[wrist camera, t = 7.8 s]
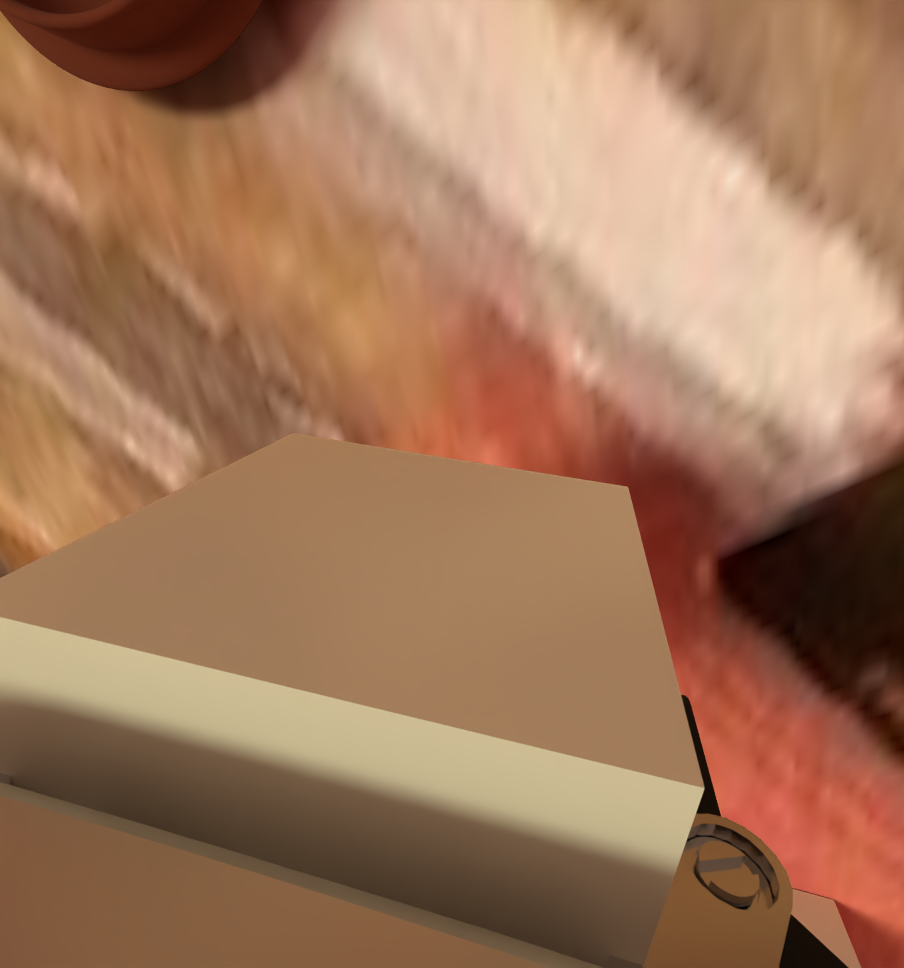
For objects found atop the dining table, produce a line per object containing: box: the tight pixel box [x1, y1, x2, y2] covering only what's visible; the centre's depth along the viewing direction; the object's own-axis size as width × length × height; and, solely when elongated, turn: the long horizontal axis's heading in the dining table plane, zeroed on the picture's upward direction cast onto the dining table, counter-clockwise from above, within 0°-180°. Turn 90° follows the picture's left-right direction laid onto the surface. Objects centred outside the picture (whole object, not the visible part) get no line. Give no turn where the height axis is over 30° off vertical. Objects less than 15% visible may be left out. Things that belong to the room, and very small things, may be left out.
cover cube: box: [0, 433, 705, 968], centre depth 9 cm, size 7×7×7 cm
